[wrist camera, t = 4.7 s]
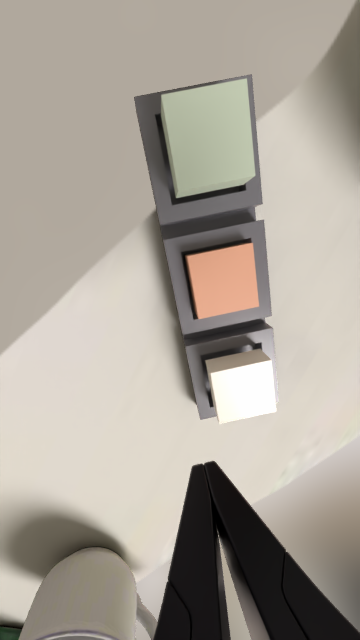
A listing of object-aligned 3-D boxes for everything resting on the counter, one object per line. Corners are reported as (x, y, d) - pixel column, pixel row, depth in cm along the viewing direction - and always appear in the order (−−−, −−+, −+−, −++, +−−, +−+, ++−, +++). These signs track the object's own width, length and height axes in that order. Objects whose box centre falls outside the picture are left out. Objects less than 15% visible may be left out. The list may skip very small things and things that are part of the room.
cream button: (205, 360, 19) (210, 373, 17) (260, 348, 19) (271, 359, 17) (213, 407, 20) (219, 423, 18) (265, 395, 20) (276, 411, 18)
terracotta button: (184, 255, 18) (187, 256, 16) (242, 243, 18) (252, 242, 16) (194, 312, 19) (198, 319, 17) (249, 300, 19) (259, 306, 17)
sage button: (160, 115, 14) (161, 94, 12) (235, 101, 14) (246, 78, 12) (176, 198, 15) (178, 191, 13) (243, 184, 15) (255, 175, 13)
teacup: (28, 577, 28) (-22, 703, 20) (75, 518, 26) (40, 633, 18) (131, 609, 31) (122, 728, 23) (181, 558, 29) (189, 671, 21)
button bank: (137, 115, 16) (134, 96, 14) (240, 95, 16) (251, 74, 14) (196, 405, 23) (200, 419, 21) (269, 389, 23) (279, 402, 21)
